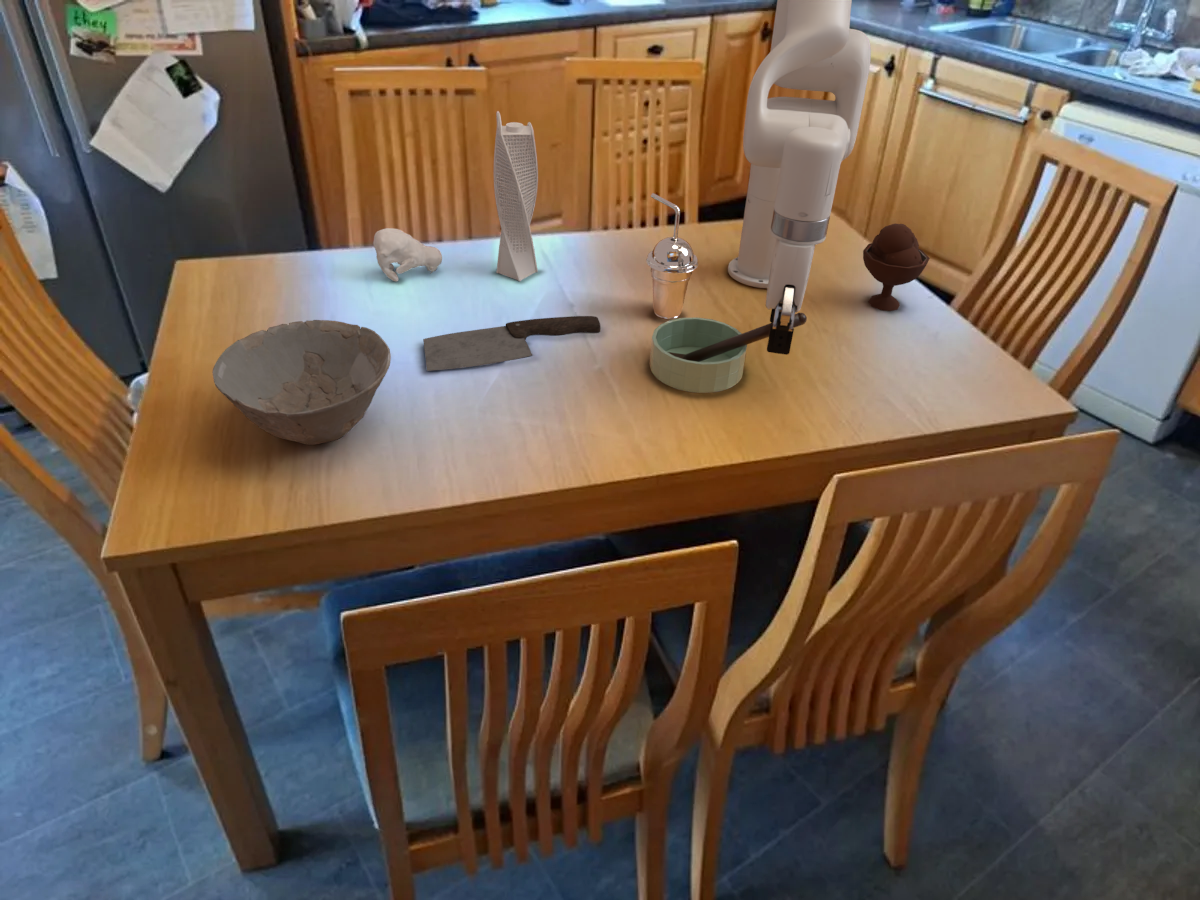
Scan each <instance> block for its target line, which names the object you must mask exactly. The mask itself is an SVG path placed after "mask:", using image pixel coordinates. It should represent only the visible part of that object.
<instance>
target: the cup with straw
mask: <svg viewBox="0 0 1200 900" xmlns="http://www.w3.org/2000/svg"><path fill="white" fill-rule="evenodd" d="M650 198H652V199H654V200H655V201H657V202H660V203H662V204H663V205H665V206H667V207H669V208H670V209H673V210H674V212H675V216H674V224H673V225H674V226H673V235H672V236H669V237H668V236H667V237H665V238H662V239H660V240H659V241H658V242H657V243H656V244H655V245H654V247H653V249H652V250H651V251H650V252H649V253H648V254H647V257H646V260H645V262H646V264H647V266H648V267H650V273H651V278H652V305H653V307H652V308H653V312H654V314H655V315H656V316H657V317H658V318H661V319H665V320H666V319H667V320H673V319H677V318H678V317H680V315H681V313H682V312H683V307H684V302H685V299H686V296H687V295H686V294H687V290H688V286H689V281H690V280H691V277H692V275H693V271H695V270H696V269H697V268H698V266H699V262H698V261H699V259H698V257H697V255H696V254H695V253H694V251H693V248H692V246H691V245H690V244H689V242H687V240H685V239H684V238H681V237H678V236H679V228H680V227H679V226H680V217H681V210H680V207H679V206H678V205H676V204H675V203H672V202H671V201H669V200H667V199H666V198H663V197H662V196H659V195H658V194H656V193H653V192H652V193H651V195H650Z"/></svg>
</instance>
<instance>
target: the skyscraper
mask: <svg viewBox="0 0 1200 900" xmlns="http://www.w3.org/2000/svg"><path fill="white" fill-rule="evenodd" d="M495 114H496V115H495V116H496V131H495V141H494V151H493V153H494V154H493V190H494V199H495V206H496V211H497V217H498V220H499V225H500V230H501V231H500V236H499V245H498V254H497V264H496V271H495V272H496V274H500V275H502V276H505V277H508V278H511V279H514V280H516V281H518V282H521V281H522V280H525V279H526V278H528V277H530V276H532V275H533V274H535V273H538V272H539V271H538V263H537V258H536V252H535V247H534V242H533V241H534V240H533V235H532V231H531V223H532V219H533V215H534V212H535V207H536V201H537V196H538V187H539V186H538V185H539V169H538V168H539V164H538V154H537V146H536V140H535V139H536V138H535V131H534V127H533V124H532V123H531V122H530V121H528V122H527V125H524V124H523V123H522V122H517V121H512V122H507V123H506V124H505V125H502V124H503V123H502V116H501V113H500V111H499V110H497V111H496V113H495Z"/></svg>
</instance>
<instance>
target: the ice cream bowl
mask: <svg viewBox="0 0 1200 900" xmlns="http://www.w3.org/2000/svg"><path fill="white" fill-rule="evenodd" d="M916 237H917V236H915V233H914V232H913V231H912V229H911V228H910V227H908V226H907V225H906V224H904V223H891V224H889V225H885V226H884V227H882V228H881V229H880V230H879V233H878V234H877V235H875V236H874V238H873V241H872V242H871V243H868V244H867V245H866V246H865V247H864V249H863V250H862V260H863V264H864V266H865V268H866V269H867V271H868V272H869V273H870V275H871V276H872V277H873V278H874V279H875V280H876V281H877V282H878V283H881V284H882V288H881V292H880V293H877V294H873V295H871V296H870V298H869V299H868V301H867V303H868V304H869V306H870V307H871V308H874V309H876V310H879V311H883V312H893V311H897V310H899V308H900V307H901V305H900V304H901V303H900V302H899V300H898V299H897V298H895V297H894V296H893V289H894V287H897V286H901V285H905V284H909V283H912V282H913V281H914V280H916V279H918V278H919V277H920V275H921V274H922V273H923V271H924V270H925V268H926V267H927V265H928V263H929V261H930V257H929V256H928V255H927V254H926V253H925V252H924V251H923V249H920V248H919V247H920V244H919V241H918V238H916Z"/></svg>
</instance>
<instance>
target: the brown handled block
mask: <svg viewBox="0 0 1200 900" xmlns="http://www.w3.org/2000/svg"><path fill="white" fill-rule="evenodd" d="M807 319H808V318H807V315H806V314H805V313H804V312H797V313H795V317H794V323H793V328H794V329H795V328H797V327H801V326H803V325H805V324H806V323H807ZM771 326H773V322H772V323H771V322H770V323H767V324H765V325H764V324H763V325H761V326H759V327H756V328H754V329H751V330H748V331H745V332H743V333H742V332H741V333H742V334H740V335H737V336H734V337H731V338H729V339H726V340H723V341H720V342H718V343H715V344H712V345H710V346H707V347H704V348H701V349H699V350H696V351H693V352H690V353H688V354H679V353H672V352H668V353H670V354H671V355H673V356H675V357H678V358H682V359H685V360H689V361H696V362H700V361H703V360H706V359H709V358H711V357H714V356H717V355H720V354H723V353H725V352H728V351H731V350H734V349H736V348H739V347H742V346H745V345H747V346H748V345H750V344H753V343H757V342H758V341H762V340H764V339H767V338H769V334H770V328H771Z"/></svg>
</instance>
